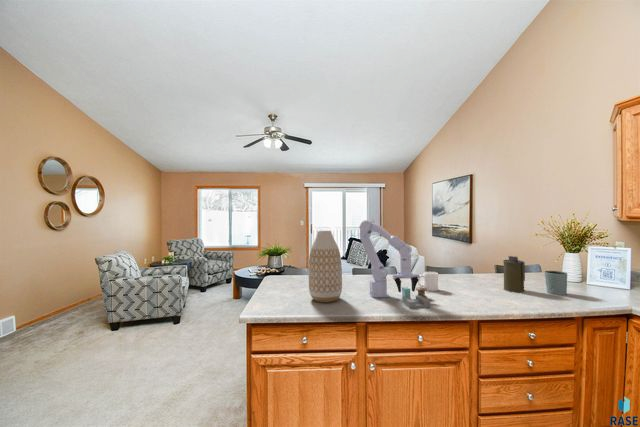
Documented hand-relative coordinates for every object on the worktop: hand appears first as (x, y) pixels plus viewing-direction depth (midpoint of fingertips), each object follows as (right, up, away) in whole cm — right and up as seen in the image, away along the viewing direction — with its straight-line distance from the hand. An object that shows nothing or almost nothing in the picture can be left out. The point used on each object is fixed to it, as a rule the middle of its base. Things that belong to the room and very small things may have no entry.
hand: (406, 291), depth 158 cm
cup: (+19, -4, +18) cm, 26 cm away
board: (+2, -4, -10) cm, 11 cm away
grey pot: (+87, -3, +6) cm, 87 cm away
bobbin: (+9, -4, +2) cm, 10 cm away
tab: (0, -4, -1) cm, 4 cm away
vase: (-44, -5, +2) cm, 45 cm away
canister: (+68, -3, +13) cm, 69 cm away
